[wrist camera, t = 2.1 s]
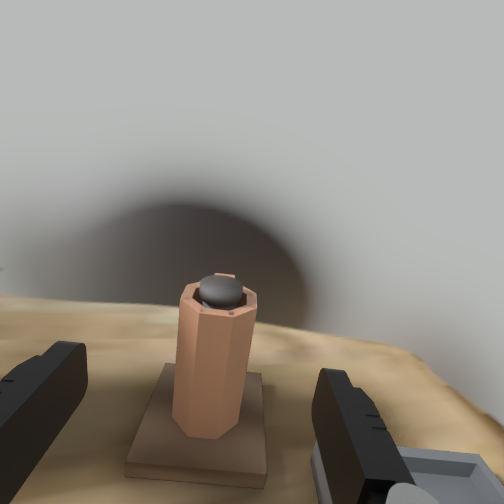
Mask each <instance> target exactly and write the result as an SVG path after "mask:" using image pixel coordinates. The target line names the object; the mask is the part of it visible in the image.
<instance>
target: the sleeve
mask: <svg viewBox="0 0 504 504" xmlns="http://www.w3.org/2000/svg"><path fill="white" fill-rule="evenodd" d="M215 275H223V276H229V277H232V278H235V276H234V275H228V274H220V273H215ZM199 289H200V282H197V283H193V284H189V285H187V286H186V288H185V290H184V292H183V294H182V296H181V299H180V310H179V324H178V338H177V352H176V366H175V380H174V395H173V409H172V417H173V419H174V420H175V421H176V423H177V424H178V425H179V426H180V428H181V429H182V430H183V432H184V433H185V434H186V436H187V437H196V438H206V439H216V440H217V439H218V438H219V437H220V436H222V435H223V434H224V433H226V432H227V431H228V430H230V429H231V428H232V427H234V426H235V425H236V424H237V423H238V419H239V413H240V407H241V401H242V395H243V389H244V383H245V377H246V371H247V365H248V359H249V353H250V347H251V341H252V335H253V329H254V323H255V317H256V311H257V298H256V293H254V292H252V291H251V290H249V289H247V288H245V287H244V286H243V292H242V299H241V301H240V302H239V303H238V304H237V306H236V309H233V310H231V311H226V310H218V309H210V308H205V307H204V306H202V300H201V299H200V297H199Z"/></svg>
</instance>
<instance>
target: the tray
mask: <svg viewBox="0 0 504 504" xmlns="http://www.w3.org/2000/svg"><path fill="white" fill-rule="evenodd" d="M396 447H397V449H398V451H399V453H400V454H401V456H402V458H403V460H404V462H405V464H406V466H407V468H408V470H409V472H410V474H411V476H412V478H413V479H414V481H415V483H416V485H417V487H419V488H421V489H423V490H425V491H426V492H427V493H429V494H430V495H431V496H433V497H434V498H435V499H436V500H437V501H438V502H439V503H440V504H504V486H503V485H502V483H501V482H500V481H499V480H498V478H497V477H496V476H495V474H494V473H493V472H492V471H491V469H490V468H489V467H488V465H487V464H486V463H485V462H484V460H483V459H482V458H481V456H480V455H479V454H470V453H460V452H449V451H439V450H429V449H419V448H409V447H399V446H396ZM311 465H312V470H313V475H314V480H315V485H316V490H317V495H318V500H319V504H332V500H331V496H330V492H329V488H328V483H327V479H326V475H325V471H324V467H323V463H322V459H321V455H320V451H319V447H318V443H317V439H316V442H315V446H314V449H313V453H312V456H311Z"/></svg>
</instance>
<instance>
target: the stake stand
mask: <svg viewBox="0 0 504 504" xmlns="http://www.w3.org/2000/svg"><path fill="white" fill-rule="evenodd" d="M242 292H243V284H242V283H241V282H240V281H239V280H237V279H235V278H232V277H229V276H223V275H212V276H207V277H205V278H203V279H202V280H201V281H200V289H199V297H200V299H201V300H202V306H204V307H205V308H210V309H218V310H226V311H231V310H233V309H236V306H237V304H238V303H239V302H240V301H241V299H242ZM175 366H176V364H170V363H165V365H164V368H163V370H162V373H161V375H160V377H159V380H158V382H157V385H156V387H155V390H154V392H153V395H152V397H151V399H150V402H149V404H148V407H147V409H146V412H145V414H144V416H143V419H142V421H141V424H140V426H139V429H138V431H137V434H136V436H135V438H134V441H133V443H132V446H131V448H130V451H129V453H128V455H127V458H126V460H125V477H136V478H147V479H158V480H170V481H181V482H193V483H204V484H215V485H227V486H238V487H249V488H261V489H264V485H265V481H266V477H267V466H266V448H265V430H264V413H263V395H262V377H261V373H252V372H246V377H245V383H244V389H243V395H242V401H241V407H240V413H239V419H238V423H237V424H236V425H235V426H234V427H232V428H231V429H230V430H228V431H227V432H226V433H224V434H223V435H222V436H220V437H219V438H218V439H217V440H216V439H206V438H196V437H187V436H186V434H185V433H184V432H183V430H182V429H181V428H180V426H179V425H178V424H177V423H176V421H175V420H174V419H173V417H172V409H173V395H174V380H175Z"/></svg>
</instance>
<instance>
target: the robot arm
mask: <svg viewBox="0 0 504 504" xmlns="http://www.w3.org/2000/svg"><path fill="white" fill-rule="evenodd" d="M87 384H88V373H87V354H86V346H85V344H84V343H77V342H67V341H58V342H56V343H55V344H53V345H52V346H51V347H50V348H49V349H48V350H47V351H46V352H45V353H44V354H43V355H42V356H38V355H36V356H34V357H32V358H30V359H28V360H27V361H25V362H23V363H21V364H19V365H17V366H16V367H15V368H14V369H13V370H11V371H10V372H9V373H8V374H7V375H6V376H5V377H3V378H2V379H1V382H0V504H9V503H10V502H11V501H12V499H13V498H14V496H15V495H16V493H17V492H18V491H19V489H20V488H21V486H22V485H23V483H24V482H25V481H26V479H27V478H28V476H29V475H30V473H31V472H32V471H33V469H34V468H35V466H36V465H37V464H38V462H39V461H40V459H41V458H42V456H43V455H44V454H45V452H46V451H47V449H48V448H49V446H50V445H51V444H52V442H53V441H54V439H55V438H56V436H57V435H58V434H59V432H60V431H61V429H62V428H63V426H64V425H65V424H66V422H67V421H68V419H69V418H70V416H71V415H72V414H73V412H74V411H75V409H76V408H77V407H78V405H79V404H80V402H81V401H82V399H83V397H84V395H85V392H86V389H87ZM312 422H313V427H314V431H315V435H316V439H317V443H318V447H319V451H320V455H321V459H322V463H323V467H324V471H325V475H326V479H327V483H328V488H329V492H330V496H331V500H332V504H440V503H439V502H438V501H437V500H436V499H435V498H434V497H433V496H431V495H430V494H429V493H427V492H426V491H425V490H423V489H421V488H419V487H417V485H416V483H415V481H414V479H413V478H412V476H411V474H410V472H409V470H408V468H407V466H406V464H405V462H404V460H403V458H402V456H401V454H400V453H399V451H398V449H397V447H396V445H395V443H394V441H393V439H392V437H391V435H390V433H389V432H387V428H386V426H385V424H384V422H383V420H382V419H381V418H380V414H379V412H378V410H377V408H376V406H375V405H374V403H373V401H372V400H371V399H370V398H369V397H368V396H367V395H366V394H365V392H364V391H363V390H362V389H361V388H356V387H353V386H352V384H351V382H350V380H349V378H348V375H347V373H346V372H345V371H344V370H337V369H327V368H322V369H321V370H320V373H319V377H318V381H317V386H316V390H315V394H314V398H313V402H312Z"/></svg>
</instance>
